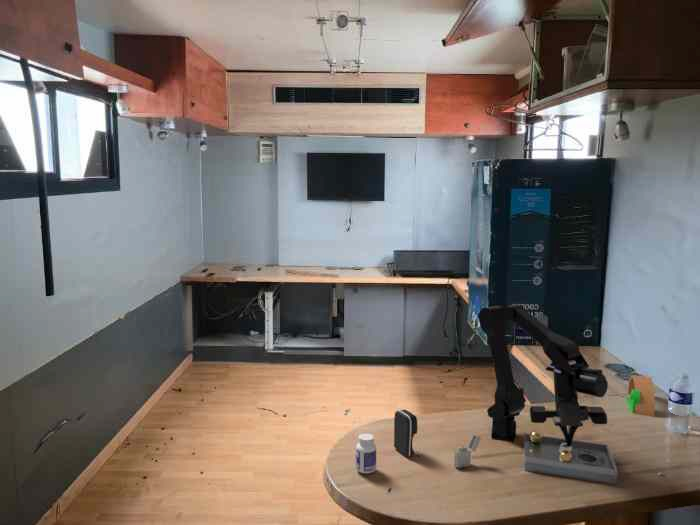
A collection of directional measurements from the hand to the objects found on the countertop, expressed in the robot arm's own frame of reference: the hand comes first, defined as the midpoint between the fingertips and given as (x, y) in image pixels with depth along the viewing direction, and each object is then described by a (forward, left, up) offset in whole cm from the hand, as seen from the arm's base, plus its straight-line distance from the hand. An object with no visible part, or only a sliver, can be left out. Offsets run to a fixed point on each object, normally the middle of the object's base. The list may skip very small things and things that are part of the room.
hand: (568, 445), depth 142 cm
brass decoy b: (-1, -4, -1) cm, 5 cm away
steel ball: (-1, 0, -1) cm, 2 cm away
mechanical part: (+27, +48, -6) cm, 56 cm away
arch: (+28, +52, -5) cm, 59 cm away
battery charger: (-43, -6, -6) cm, 44 cm away
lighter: (-26, -8, -6) cm, 28 cm away
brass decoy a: (-8, +6, -1) cm, 10 cm away
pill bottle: (-51, -19, -6) cm, 55 cm away
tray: (0, +1, -6) cm, 6 cm away
